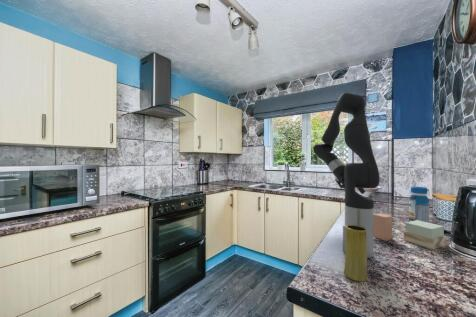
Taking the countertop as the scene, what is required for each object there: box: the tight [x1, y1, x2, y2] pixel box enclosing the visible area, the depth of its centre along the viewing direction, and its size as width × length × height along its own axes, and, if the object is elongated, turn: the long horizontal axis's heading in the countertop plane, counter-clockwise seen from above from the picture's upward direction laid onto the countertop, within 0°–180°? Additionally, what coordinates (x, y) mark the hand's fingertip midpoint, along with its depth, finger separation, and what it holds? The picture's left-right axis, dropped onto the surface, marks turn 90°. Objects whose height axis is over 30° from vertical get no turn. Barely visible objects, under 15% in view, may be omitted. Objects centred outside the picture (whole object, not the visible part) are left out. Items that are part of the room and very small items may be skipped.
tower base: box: [403, 231, 447, 250], centre depth 85 cm, size 10×10×4 cm
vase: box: [343, 225, 369, 282], centre depth 60 cm, size 6×6×14 cm
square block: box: [373, 213, 394, 241], centre depth 90 cm, size 5×5×10 cm
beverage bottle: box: [408, 186, 430, 223], centre depth 110 cm, size 8×8×20 cm
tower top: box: [404, 220, 445, 239], centre depth 86 cm, size 9×9×4 cm
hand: (358, 193), depth 101 cm, fingers open, 8 cm apart
